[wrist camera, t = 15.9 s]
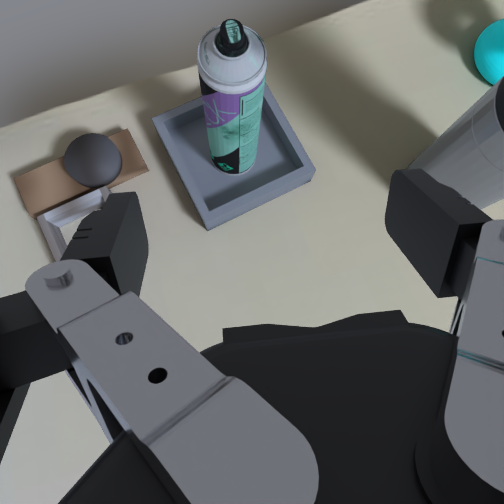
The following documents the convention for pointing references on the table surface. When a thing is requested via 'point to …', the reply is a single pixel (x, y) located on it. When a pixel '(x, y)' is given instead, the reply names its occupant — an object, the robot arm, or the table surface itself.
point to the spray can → (232, 94)
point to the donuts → (491, 52)
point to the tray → (233, 187)
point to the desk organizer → (78, 182)
